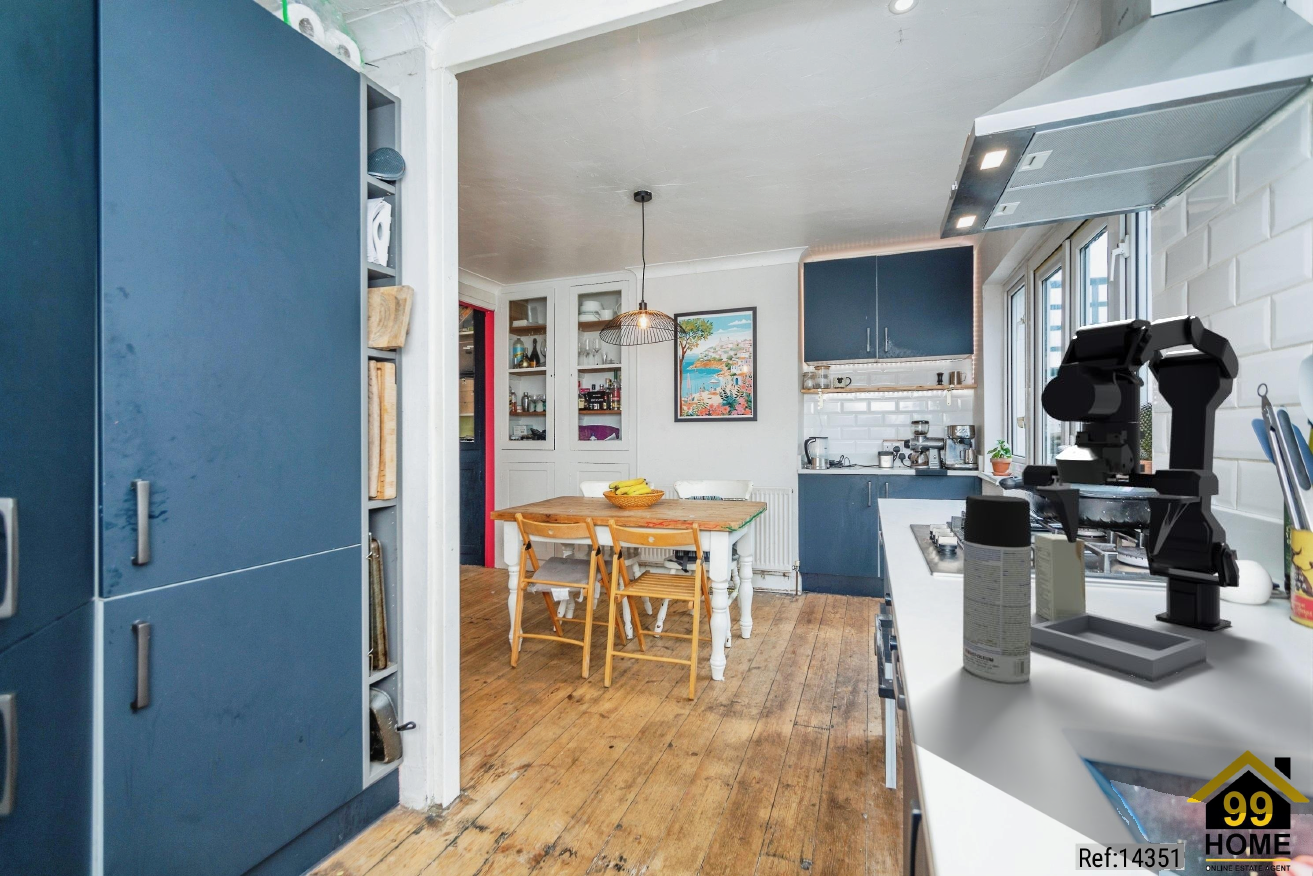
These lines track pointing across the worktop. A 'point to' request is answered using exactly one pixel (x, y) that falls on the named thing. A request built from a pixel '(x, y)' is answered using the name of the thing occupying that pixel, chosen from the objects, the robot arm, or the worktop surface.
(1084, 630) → the tray
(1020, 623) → the spray can
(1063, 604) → the skincare box
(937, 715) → the worktop surface
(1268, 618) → the worktop surface
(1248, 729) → the worktop surface
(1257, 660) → the worktop surface
